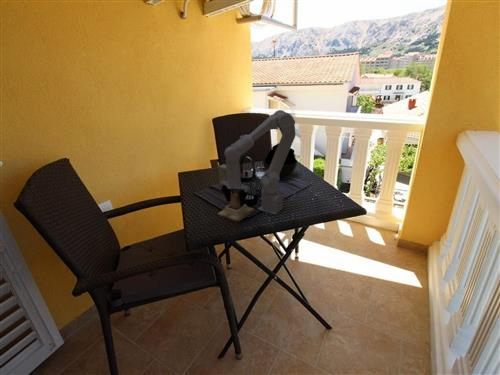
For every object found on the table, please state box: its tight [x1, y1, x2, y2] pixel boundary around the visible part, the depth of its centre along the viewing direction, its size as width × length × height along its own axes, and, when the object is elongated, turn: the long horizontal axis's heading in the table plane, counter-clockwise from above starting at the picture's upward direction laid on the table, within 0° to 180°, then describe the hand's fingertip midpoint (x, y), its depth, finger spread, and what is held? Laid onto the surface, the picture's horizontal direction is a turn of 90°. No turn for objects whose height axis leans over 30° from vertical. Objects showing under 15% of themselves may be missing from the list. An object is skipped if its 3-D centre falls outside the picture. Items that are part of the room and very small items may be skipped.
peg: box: [230, 192, 240, 210], centre depth 118 cm, size 4×4×8 cm
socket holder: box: [217, 203, 255, 222], centre depth 120 cm, size 12×12×3 cm
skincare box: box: [217, 163, 227, 188], centre depth 147 cm, size 6×4×12 cm
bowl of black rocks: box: [262, 142, 298, 179], centre depth 155 cm, size 20×20×19 cm
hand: (235, 203), depth 118 cm, fingers open, 7 cm apart
